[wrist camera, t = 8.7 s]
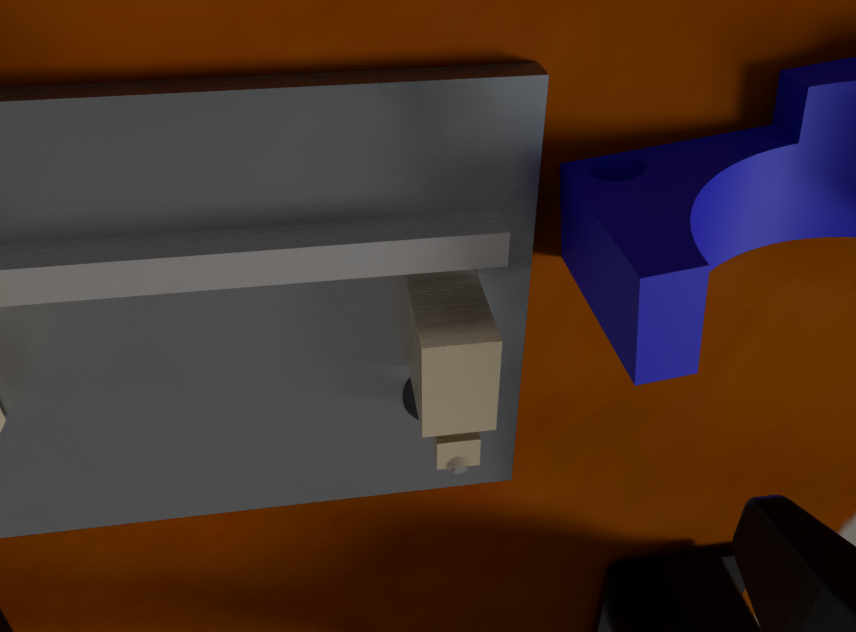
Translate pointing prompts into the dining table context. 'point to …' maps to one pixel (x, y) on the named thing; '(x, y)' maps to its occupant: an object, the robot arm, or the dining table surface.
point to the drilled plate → (261, 289)
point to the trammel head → (2, 420)
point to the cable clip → (705, 214)
